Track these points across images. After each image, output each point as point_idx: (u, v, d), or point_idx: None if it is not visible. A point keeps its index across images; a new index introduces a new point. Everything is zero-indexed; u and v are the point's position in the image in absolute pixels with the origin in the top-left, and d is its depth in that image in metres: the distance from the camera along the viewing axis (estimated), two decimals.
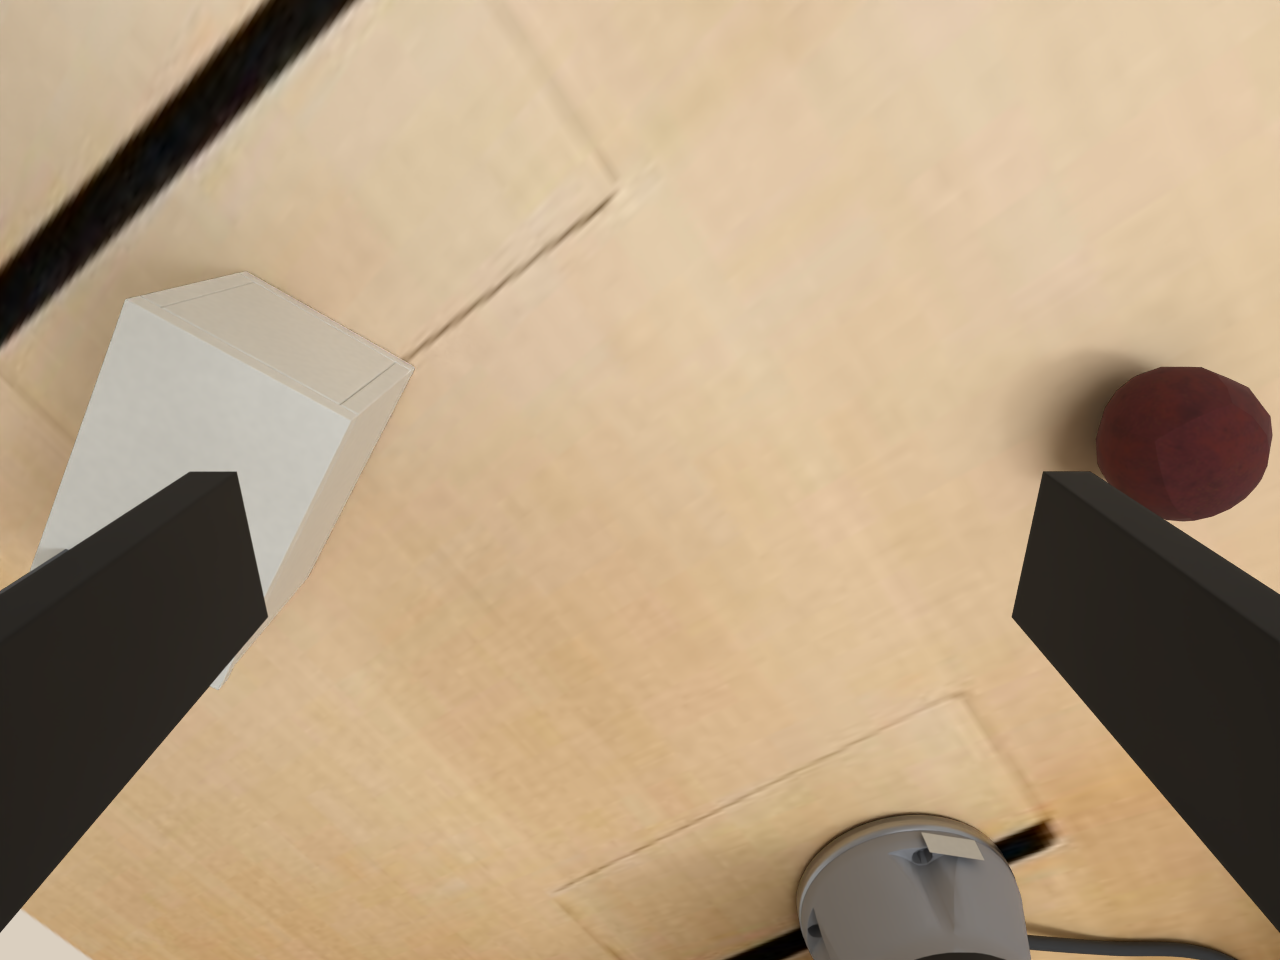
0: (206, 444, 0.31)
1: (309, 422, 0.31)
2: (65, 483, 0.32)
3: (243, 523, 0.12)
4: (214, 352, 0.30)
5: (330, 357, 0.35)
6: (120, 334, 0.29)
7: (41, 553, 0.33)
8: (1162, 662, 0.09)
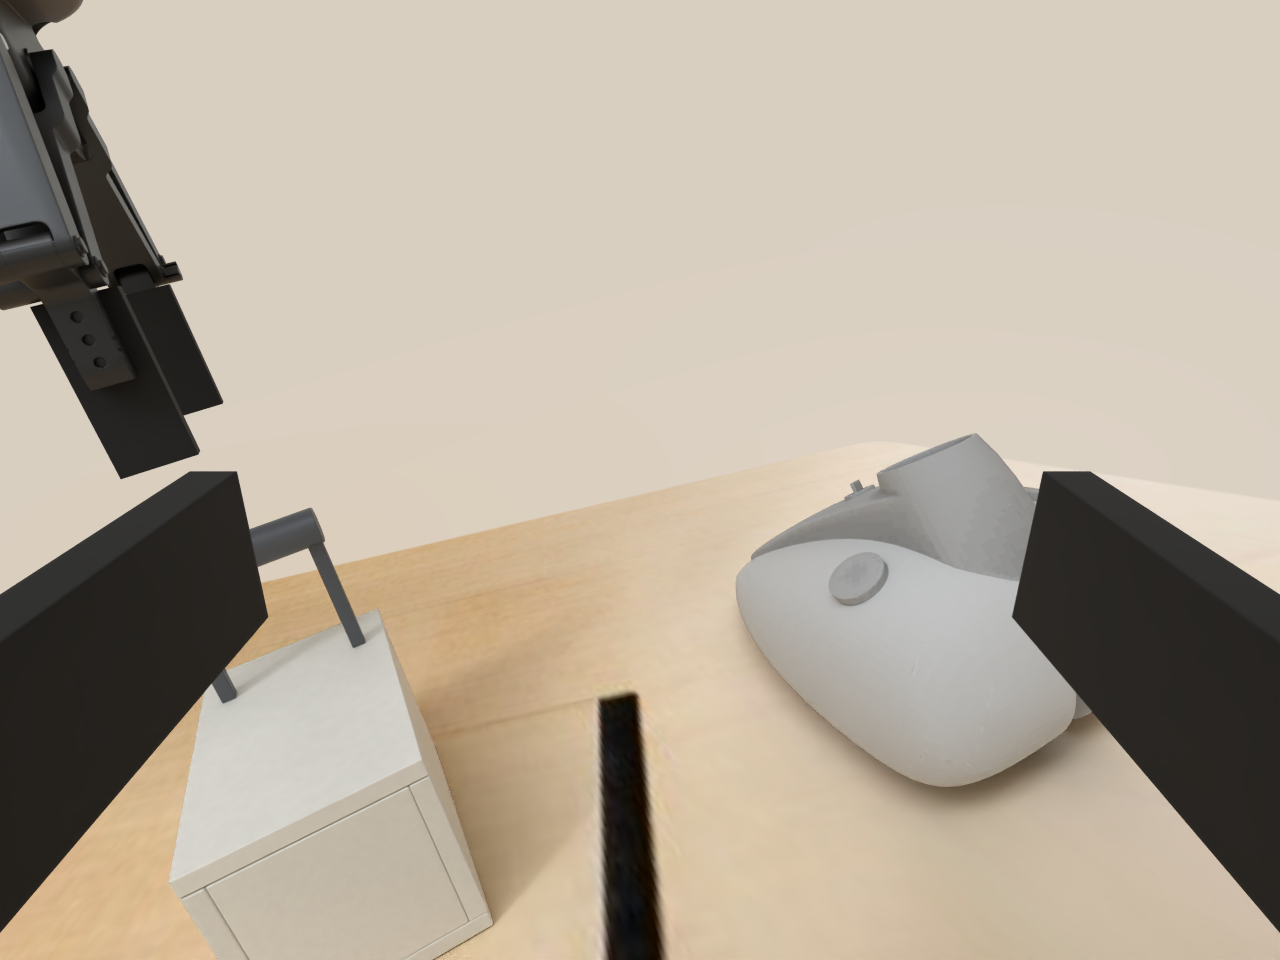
0: (299, 757, 0.32)
1: (212, 844, 0.28)
2: (389, 661, 0.38)
3: (242, 523, 0.12)
4: (329, 800, 0.29)
5: (304, 932, 0.30)
6: (410, 742, 0.31)
7: (379, 630, 0.41)
8: (1162, 662, 0.09)
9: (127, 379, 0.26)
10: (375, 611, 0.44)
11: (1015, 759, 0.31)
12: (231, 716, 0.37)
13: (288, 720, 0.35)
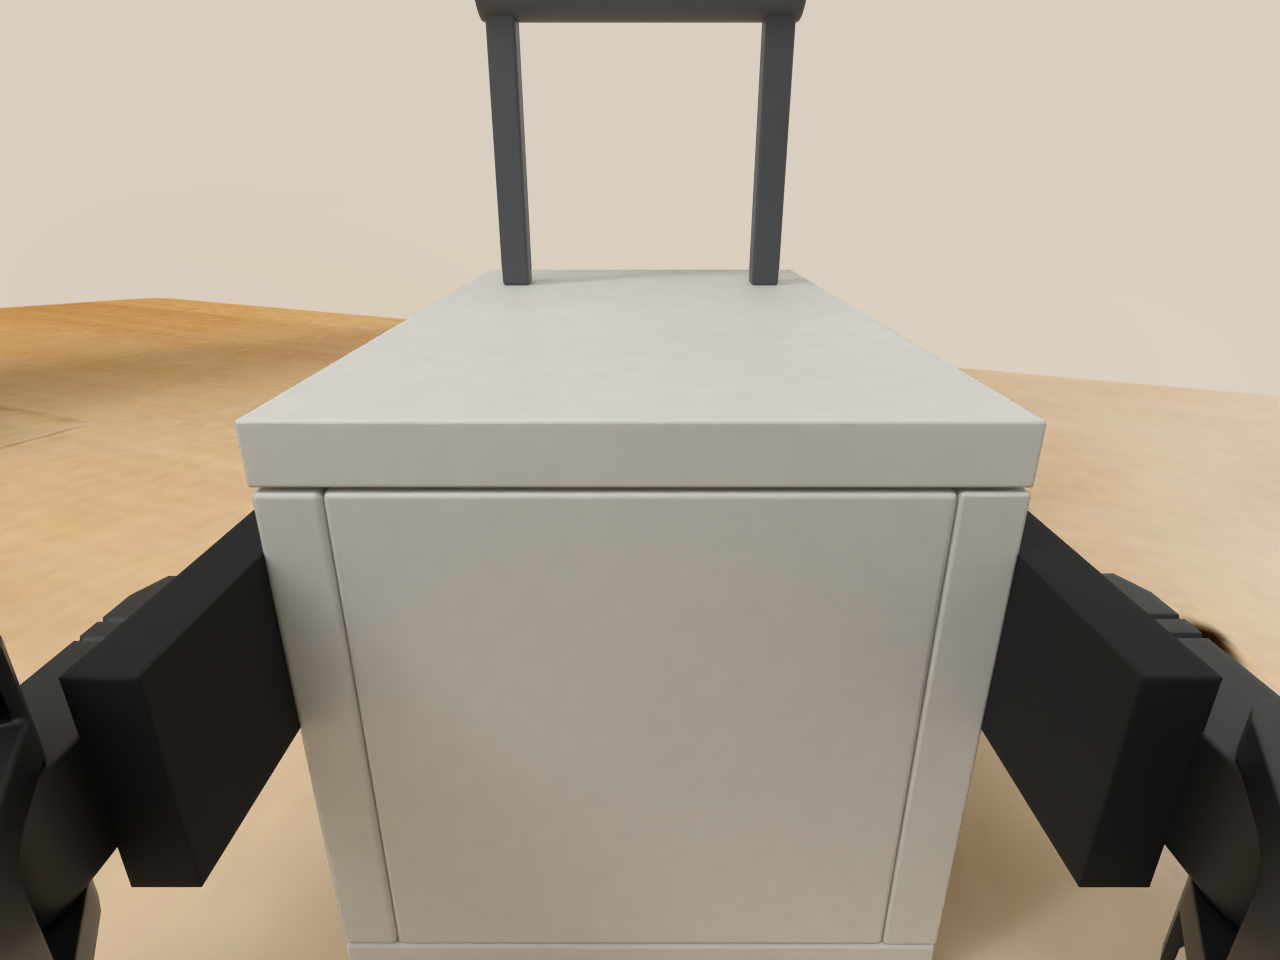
0: (641, 347, 0.12)
1: (382, 397, 0.10)
2: (839, 303, 0.17)
3: None
4: (730, 414, 0.09)
5: (514, 757, 0.10)
6: (972, 388, 0.10)
7: (803, 281, 0.21)
8: None
9: None
10: (788, 270, 0.23)
11: None
12: (512, 294, 0.18)
13: (619, 312, 0.16)
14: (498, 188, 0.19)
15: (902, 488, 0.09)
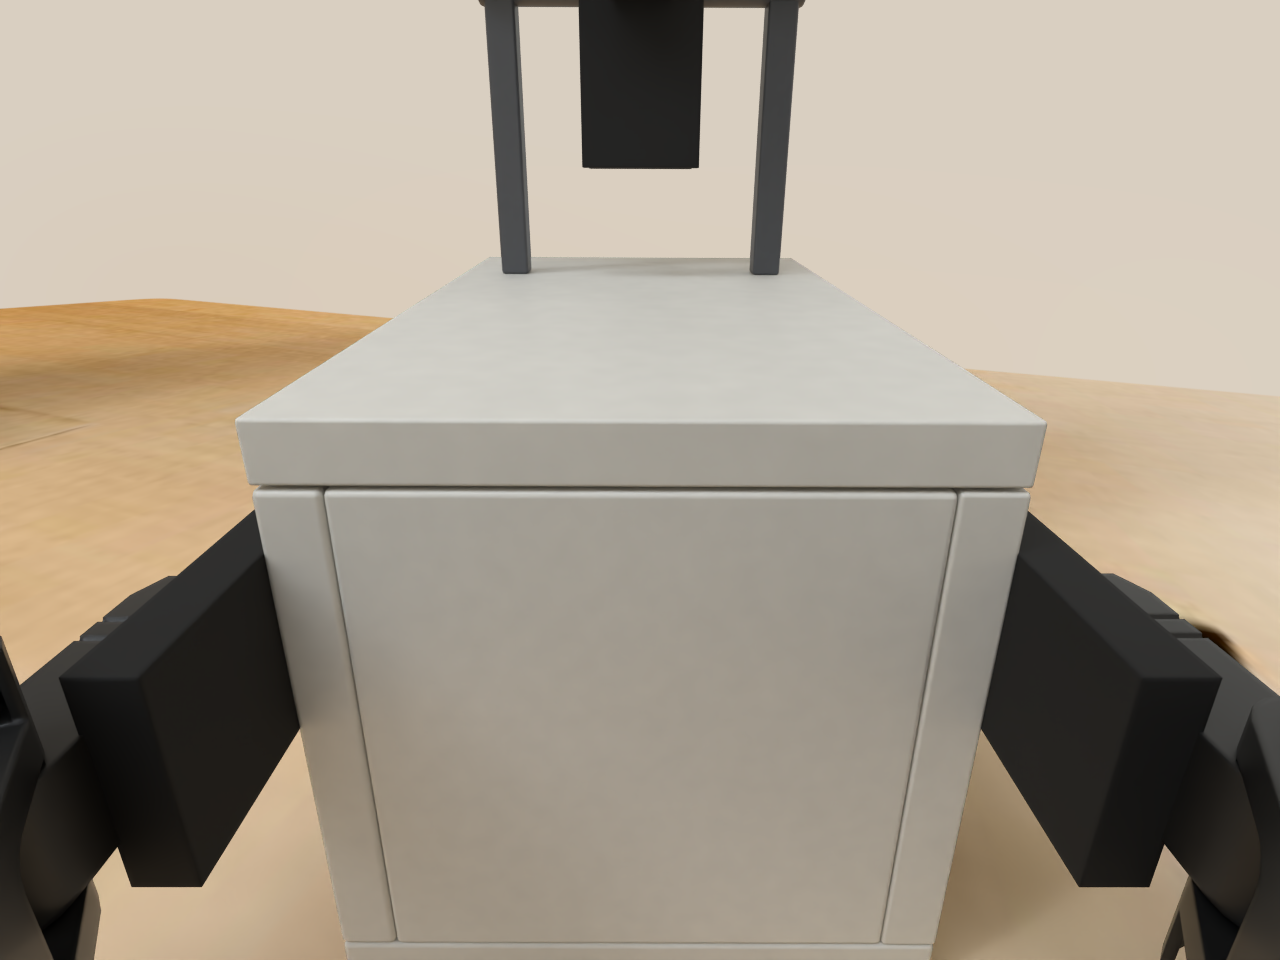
0: (641, 341, 0.12)
1: (382, 394, 0.09)
2: (840, 294, 0.17)
3: None
4: (730, 413, 0.09)
5: (513, 756, 0.10)
6: (973, 385, 0.10)
7: (804, 270, 0.20)
8: None
9: None
10: (788, 259, 0.23)
11: None
12: (512, 283, 0.18)
13: (619, 304, 0.16)
14: (497, 176, 0.19)
15: (902, 488, 0.09)
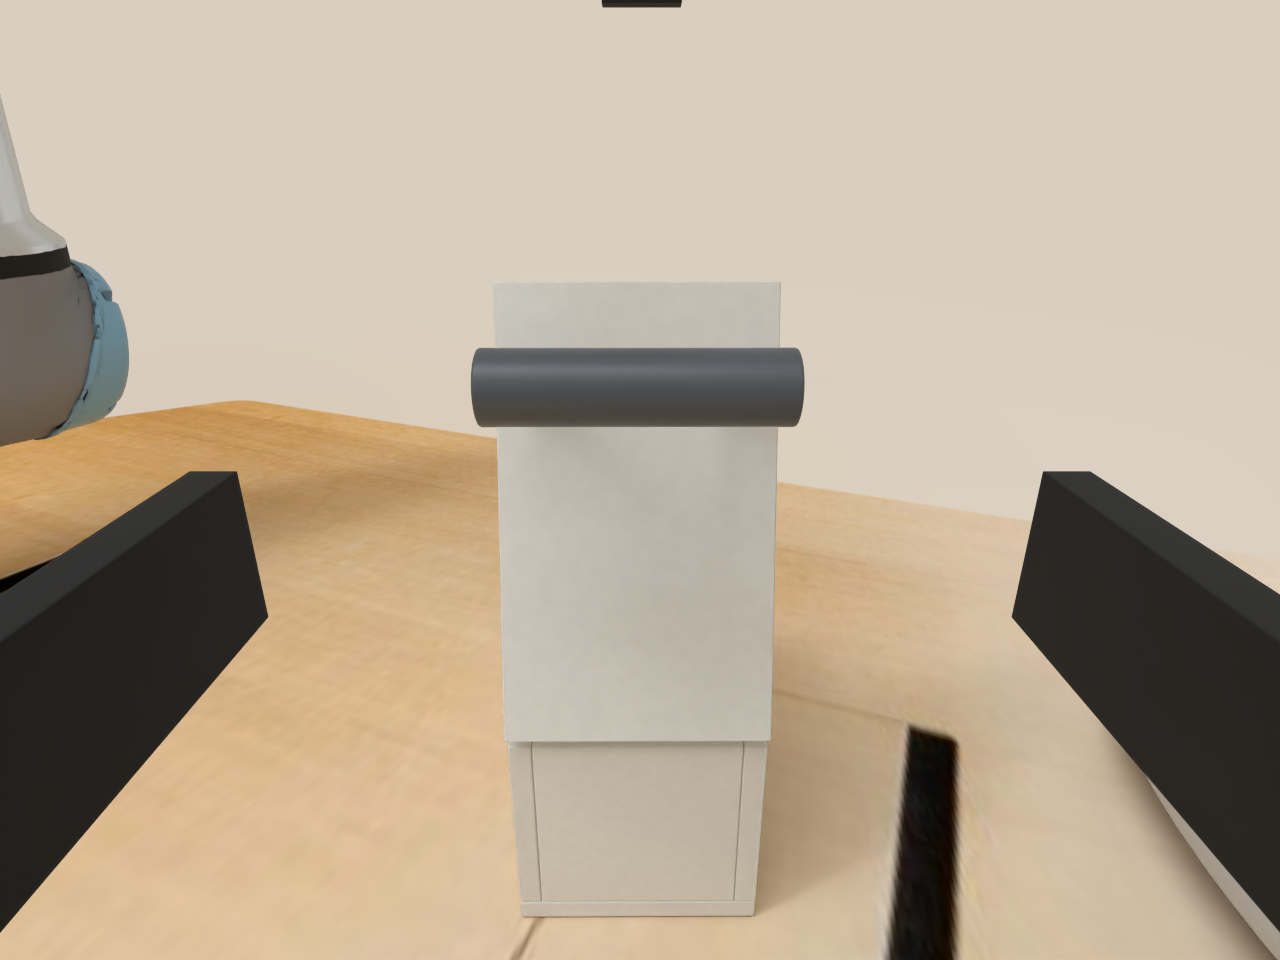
0: (637, 629, 0.26)
1: (544, 716, 0.26)
2: (770, 490, 0.25)
3: (242, 523, 0.12)
4: (667, 736, 0.26)
5: (591, 830, 0.28)
6: (764, 701, 0.26)
7: None
8: (1162, 662, 0.09)
9: None
10: (775, 292, 0.25)
11: None
12: (544, 449, 0.25)
13: (624, 530, 0.25)
14: None
15: (725, 744, 0.27)
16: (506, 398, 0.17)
